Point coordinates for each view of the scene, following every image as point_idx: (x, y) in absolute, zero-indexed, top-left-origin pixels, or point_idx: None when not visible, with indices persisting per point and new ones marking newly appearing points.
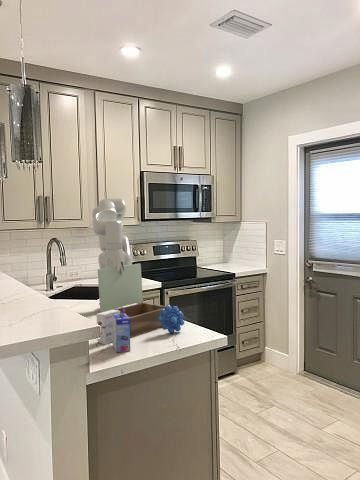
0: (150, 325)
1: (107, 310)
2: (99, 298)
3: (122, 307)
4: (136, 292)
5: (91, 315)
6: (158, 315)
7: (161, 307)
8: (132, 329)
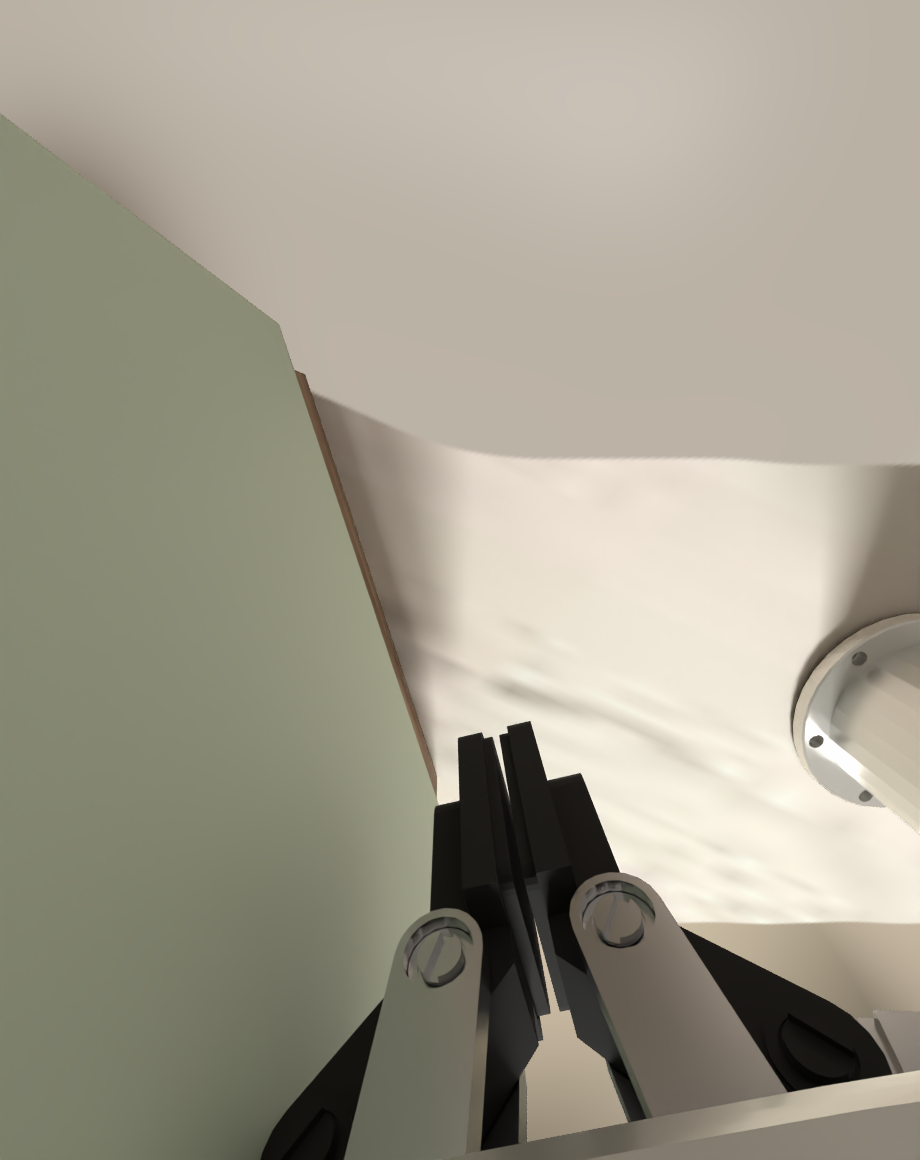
0: None
1: (865, 660)
2: (203, 269)
3: (847, 795)
4: None
5: (884, 501)
6: None
7: None
8: None
